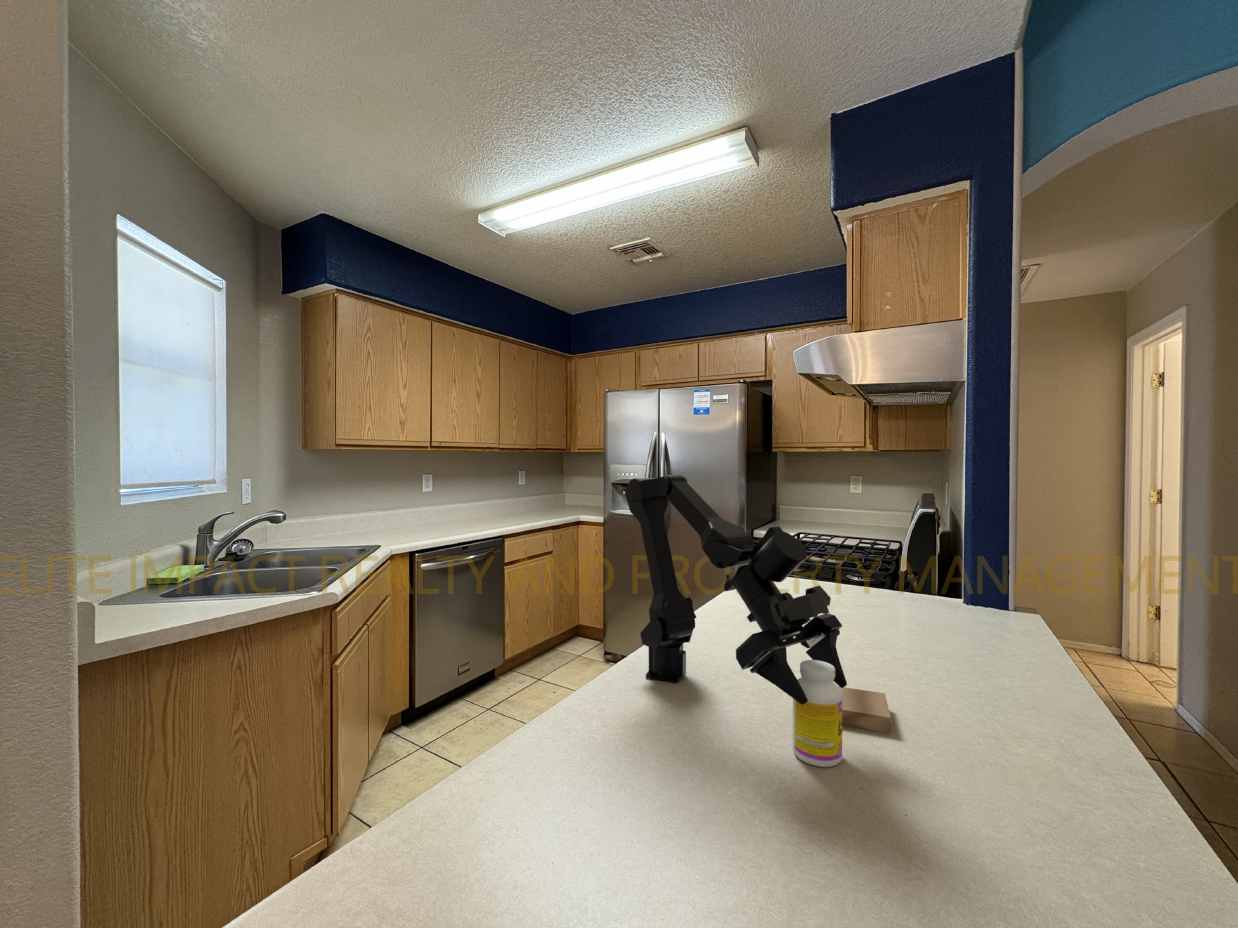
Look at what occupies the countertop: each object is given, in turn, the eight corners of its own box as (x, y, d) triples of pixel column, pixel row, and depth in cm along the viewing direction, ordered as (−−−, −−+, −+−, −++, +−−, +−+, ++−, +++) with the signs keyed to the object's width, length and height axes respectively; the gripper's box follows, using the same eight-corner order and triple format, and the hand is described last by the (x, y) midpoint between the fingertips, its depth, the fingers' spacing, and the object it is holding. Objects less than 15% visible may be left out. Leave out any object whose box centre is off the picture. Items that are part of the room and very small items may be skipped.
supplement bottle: (847, 771, 71) (847, 677, 71) (795, 766, 72) (796, 673, 72) (836, 745, 77) (837, 658, 77) (789, 740, 79) (790, 655, 78)
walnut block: (827, 722, 84) (828, 707, 84) (827, 698, 92) (827, 684, 92) (890, 733, 80) (890, 717, 80) (884, 707, 89) (884, 693, 89)
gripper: (751, 577, 72) (821, 684, 63) (831, 562, 83) (901, 652, 74) (710, 619, 79) (769, 722, 70) (789, 600, 90) (849, 688, 81)
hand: (825, 694), depth 73 cm, fingers open, 9 cm apart
